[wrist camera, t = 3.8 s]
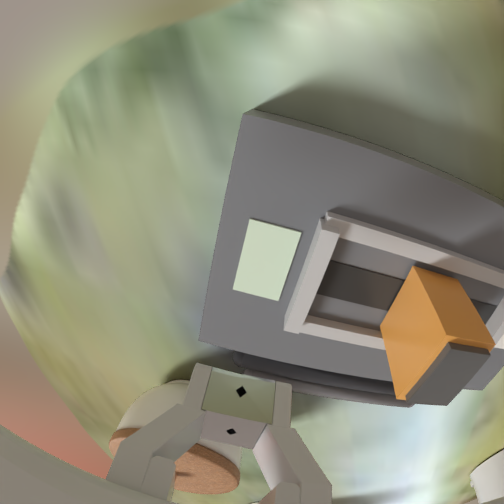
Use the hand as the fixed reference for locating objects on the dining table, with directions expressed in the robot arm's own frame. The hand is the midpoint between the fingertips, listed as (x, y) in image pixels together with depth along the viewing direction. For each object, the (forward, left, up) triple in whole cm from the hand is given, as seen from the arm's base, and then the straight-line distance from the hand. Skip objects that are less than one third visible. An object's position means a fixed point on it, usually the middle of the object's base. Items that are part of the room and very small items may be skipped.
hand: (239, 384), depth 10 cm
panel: (-9, 0, -10) cm, 13 cm away
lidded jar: (+2, +18, -10) cm, 21 cm away
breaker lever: (-9, 0, -7) cm, 11 cm away
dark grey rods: (-9, +10, -10) cm, 17 cm away
